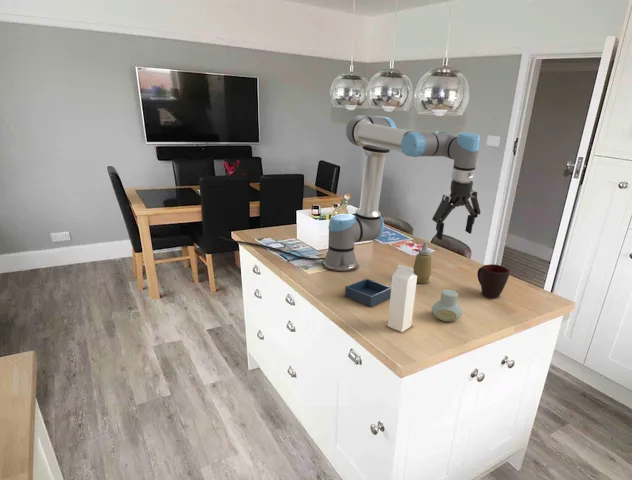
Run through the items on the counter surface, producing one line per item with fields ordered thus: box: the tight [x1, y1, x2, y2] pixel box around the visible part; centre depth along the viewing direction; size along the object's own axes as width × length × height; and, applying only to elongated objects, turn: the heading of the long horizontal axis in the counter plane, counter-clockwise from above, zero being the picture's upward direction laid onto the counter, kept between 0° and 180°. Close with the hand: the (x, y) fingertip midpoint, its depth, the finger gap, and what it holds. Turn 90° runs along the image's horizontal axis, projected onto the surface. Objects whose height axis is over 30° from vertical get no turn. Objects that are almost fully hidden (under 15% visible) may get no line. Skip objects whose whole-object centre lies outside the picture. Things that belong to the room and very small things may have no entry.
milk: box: [387, 264, 417, 333], centre depth 139 cm, size 6×6×22 cm
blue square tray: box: [344, 278, 391, 308], centre depth 163 cm, size 13×13×4 cm
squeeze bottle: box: [412, 241, 432, 284], centre depth 179 cm, size 8×8×18 cm
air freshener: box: [431, 289, 463, 322], centre depth 150 cm, size 11×8×10 cm
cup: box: [476, 264, 511, 299], centre depth 173 cm, size 10×14×12 cm
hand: (453, 235), depth 158 cm, fingers open, 13 cm apart
